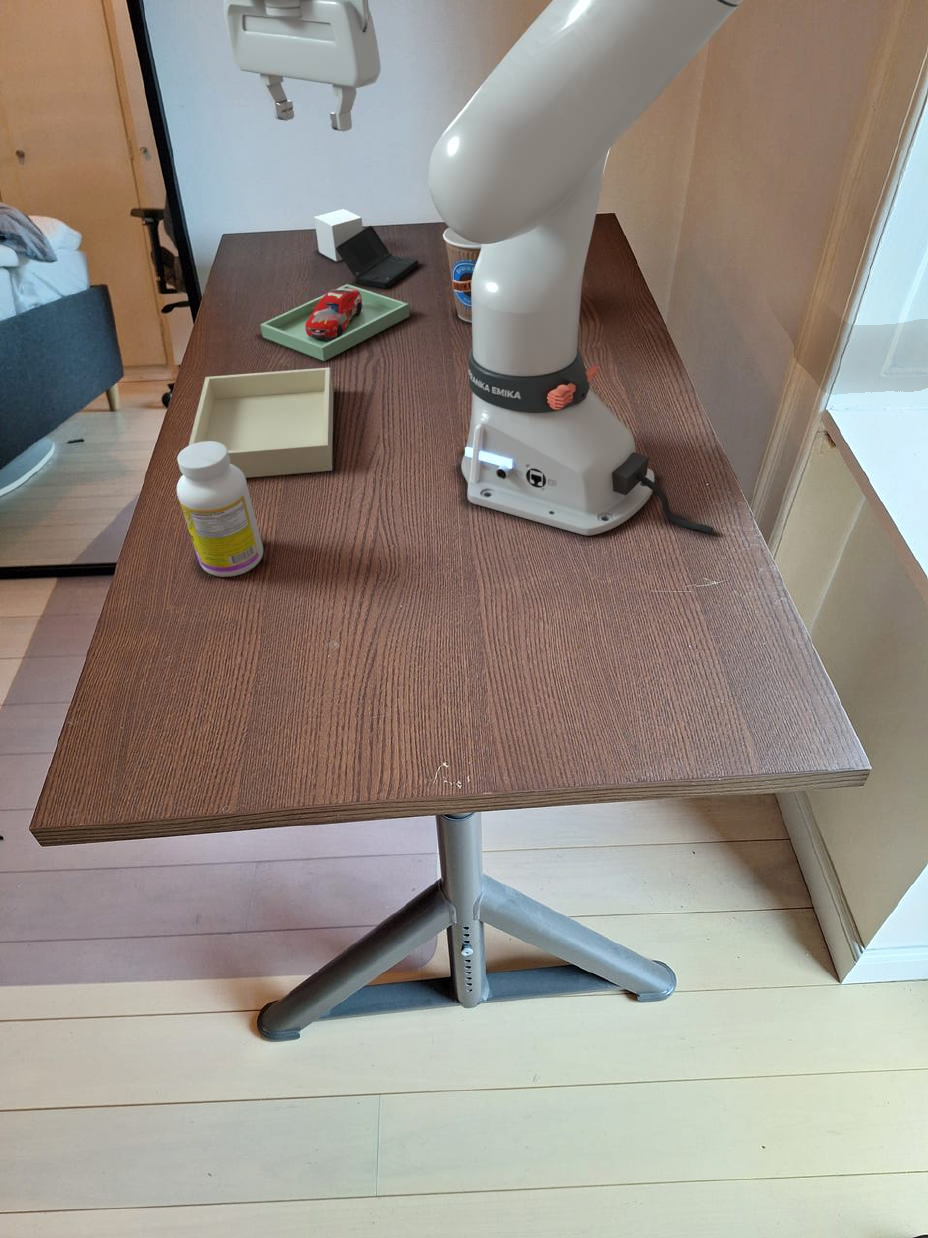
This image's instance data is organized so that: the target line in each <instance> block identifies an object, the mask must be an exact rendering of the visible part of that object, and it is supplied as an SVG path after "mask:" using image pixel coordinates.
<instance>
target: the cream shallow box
mask: <svg viewBox="0 0 928 1238" xmlns="http://www.w3.org/2000/svg"><path fill="white" fill-rule="evenodd" d="M192 426H193V427H192V430H191V434H190V438H189V442H188V446H189V445H192V444H195V443H198V442H205V441H214V442H219V443H221V444H223V445H224V446H225V447H226V448H227V450H228V454H229V457H230V464H232V465H234V466H236V467H237V468H239V469H240V470H241V471H242V473H243V474H244V476H245V478H259V477H271V476H281V475H282V476H284V475H292V474H294V475H295V474H306V473H307V474H308V473H319V472H331V471H333V441H334V440H333V439H334V437H333V436H334V435H333V433H334V385H333V380H332V372H331V368H330V367H319V368H318V367H317V368H305V369H290V370H280V371H279V370H278V371H267V372H253V373H251V372H250V373H239V374H226V375H215V376H214V375H213V376H205V378H204V382H203V385H202V390H201V393H200V398H199V402H198V406H197V410H196V414H195V418H194V422H193V425H192Z"/></svg>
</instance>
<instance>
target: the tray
mask: <svg viewBox="0 0 928 1238" xmlns="http://www.w3.org/2000/svg"><path fill="white" fill-rule="evenodd" d="M339 288H348V289H356V290H358V291H359V292H360V295H361V298H362V305H363V307H362V309H361V313H360V315H359V316H356V317H355V318H354V320H353V321H352V322H351V323H350V324H349V325H348V326H347V328H346V329H345V330H344V331H342V335H341V336H340V337H338V338H335V337H334V338H329V339H319V338H313V337H310V336H308V335H307V333H306V329H305V324H306V321H307V320H308V319H309V317H310V316H311V315H312V313H313V312H314V309H312V307H313V306H314V307H315V308H316V306H317V304H318V303H319V301H320V300H321V299H322V298H323V296H324V295H325V294H323V295H321V296H319V297H316V298H314V299H312V300H309V301H307V302H305V303H303V304H301V305H299V306H297V307H295V308H293V309H290V310H288V311H286V312H284V313H282V314H280V315H278V316H275V317H273V318H271V319H269V320H267V321H265V322H262V323H260V330H261V335H262V338H263V339H266V340H268V341H272V342H274V343H277V344H279V345H282V346H283V347H286V348H290V349H292V350H294V351H297V352H299V353H302V354H304V355H307V356H309V357H313V358H315V359H318V360H320V361H323V362H326V361H328V360H329V359H331V358H334V357H335V356H337V355H339V354H341V353H343V352H344V351H346V350H349V349H350V348H352V347H354V346H356V345H358V344H360V343H362V342H364V341H365V340H367V339H369V338H371V337H373V336H375V335H377V334H379V333H380V332H383V331H384V330H387V329H388V328H390V327H392V326H394V325H396V324H398V323H399V322H402V321H403V320H406V319H407V318H409V317H410V308H409V307H410V306H409V305H410V304H409V303H408V302H403V301H401V300H398V299H395V298H391V297H389V296H385V295H382V294H380V293H376V292H373V291H370V290H367V289H364V288H360V287H358V286H355V285H351V284H348V283H346V284H344V285H342V286H339V287H337V289H339Z"/></svg>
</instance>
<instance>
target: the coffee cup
mask: <svg viewBox="0 0 928 1238" xmlns="http://www.w3.org/2000/svg"><path fill="white" fill-rule="evenodd" d="M442 238H443V240H444V241H445V246H446V253H447V259H448V265H449V272H450V277H451V278H450V279H451V286H452V291H453V298H454V304H455V309H456V310H457V315H458V318H459V319H460V320H462V321H464V322H467V323H470V324H472V303H471V281H472V275H473V271H474V267H475V265H476V262H477V260H478V257H479V254H480V251H481V247H482V244H479V243H474V242H471V241H469V240H466V239H464V238H462V237H461V236H459V235H458V234H456V233H455V232H454V231H453V230H451V229H450V228H449V227H448V228H446V229H445V230H444V232H443V234H442Z"/></svg>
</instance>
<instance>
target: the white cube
mask: <svg viewBox="0 0 928 1238" xmlns="http://www.w3.org/2000/svg"><path fill="white" fill-rule="evenodd" d="M313 220H314V226H315V233H316V240H317V248H318V253H320V254H321V255H323V256H325V257H327V258H329V259H331V260H333V261H335V262H336V263H337V262H340V261H343V259H342V258H341V256H340V255H339V253H338V252H337V250H336V247H337V246H339V245H340V244H342V243H344V242H345V241H347V240H348V239H350V238H351V237H353V236H355V235H356V234H358V233H359V232H361V231H362V230H364V227H363V226H364V225H363V218H362V217H361V216H359V215H357V214H356V213H353V212H351V211H349V210H347V209H344V208H342V209H338V210H335V211H331V212H327V213H323V214H319V215H316V216H313Z"/></svg>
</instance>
